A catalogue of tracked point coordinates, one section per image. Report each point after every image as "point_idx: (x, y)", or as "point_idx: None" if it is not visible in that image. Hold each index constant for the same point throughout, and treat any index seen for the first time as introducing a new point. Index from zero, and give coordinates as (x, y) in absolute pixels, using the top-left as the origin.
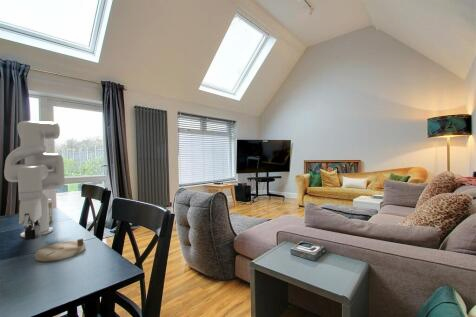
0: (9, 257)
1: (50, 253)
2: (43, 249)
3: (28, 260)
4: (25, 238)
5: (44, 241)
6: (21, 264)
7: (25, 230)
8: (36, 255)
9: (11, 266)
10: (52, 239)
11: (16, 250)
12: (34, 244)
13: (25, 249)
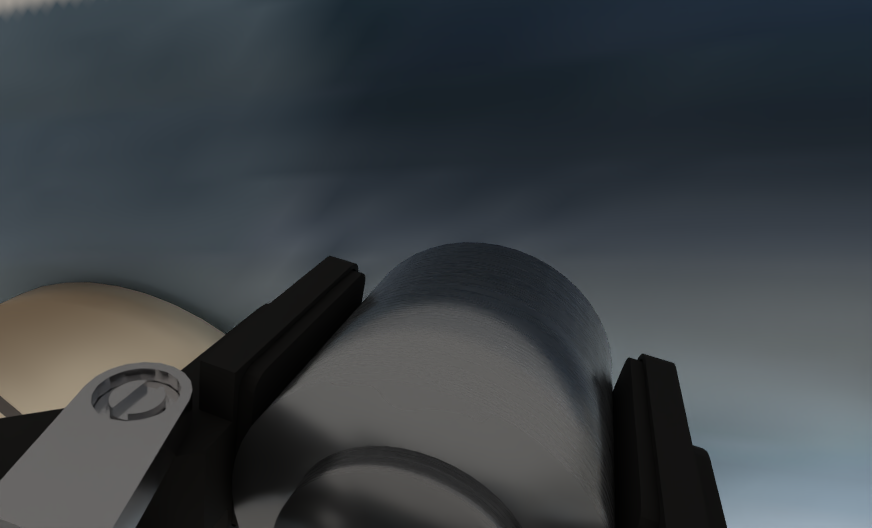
0: (333, 2)
1: (16, 413)
2: None
3: (105, 220)
4: (320, 271)
5: (798, 403)
6: (24, 164)
7: (117, 389)
8: (8, 310)
9: (6, 77)
10: (803, 490)
11: (636, 53)
12: (757, 284)
13: (574, 176)
